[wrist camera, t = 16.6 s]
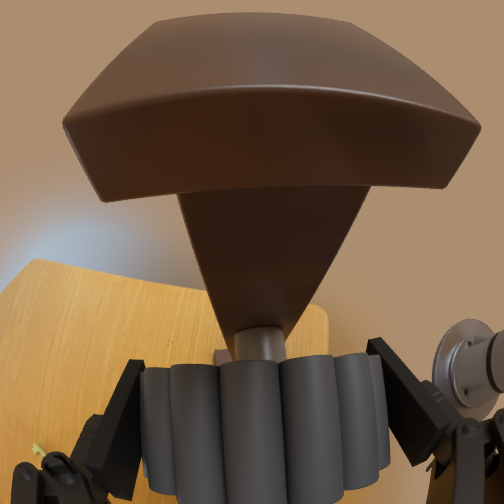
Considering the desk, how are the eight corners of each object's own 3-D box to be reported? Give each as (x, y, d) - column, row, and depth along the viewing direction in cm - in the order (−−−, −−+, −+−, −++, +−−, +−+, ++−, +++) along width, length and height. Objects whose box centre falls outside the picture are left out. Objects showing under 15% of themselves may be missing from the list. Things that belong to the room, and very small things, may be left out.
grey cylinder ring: (335, 442, 15) (442, 461, 5) (171, 452, 13) (104, 503, 4) (329, 376, 17) (429, 335, 8) (169, 383, 16) (98, 353, 7)
